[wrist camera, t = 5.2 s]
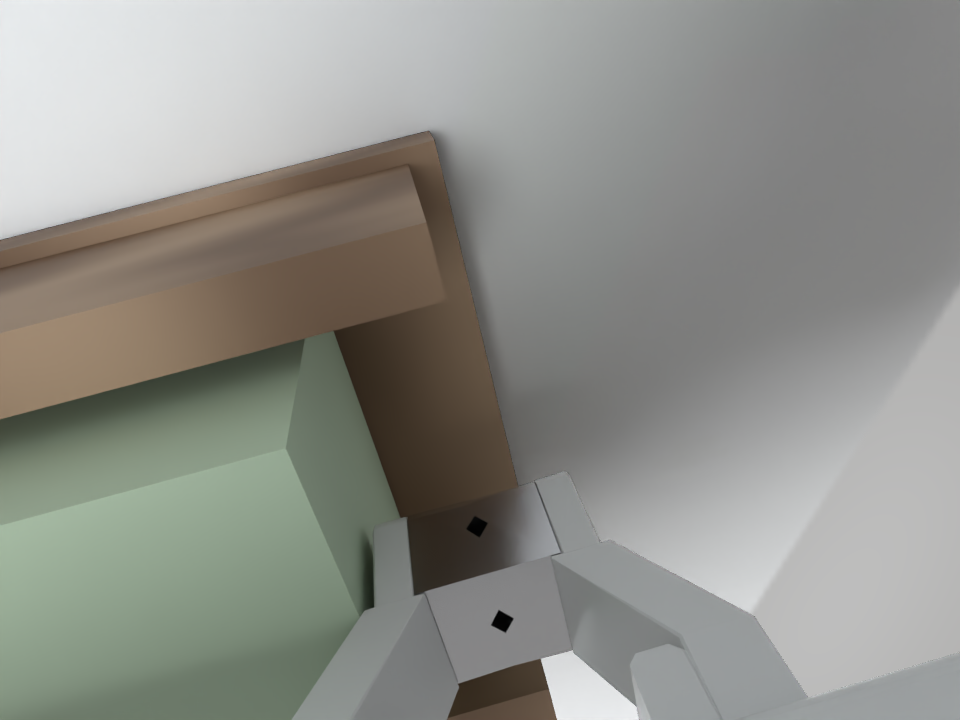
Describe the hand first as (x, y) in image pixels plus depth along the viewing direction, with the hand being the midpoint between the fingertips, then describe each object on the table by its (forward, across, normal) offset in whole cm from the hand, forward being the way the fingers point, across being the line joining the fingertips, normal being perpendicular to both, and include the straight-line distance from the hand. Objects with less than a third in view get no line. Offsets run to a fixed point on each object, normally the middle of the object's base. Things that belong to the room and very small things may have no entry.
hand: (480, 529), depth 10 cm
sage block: (+3, +4, 0) cm, 5 cm away
